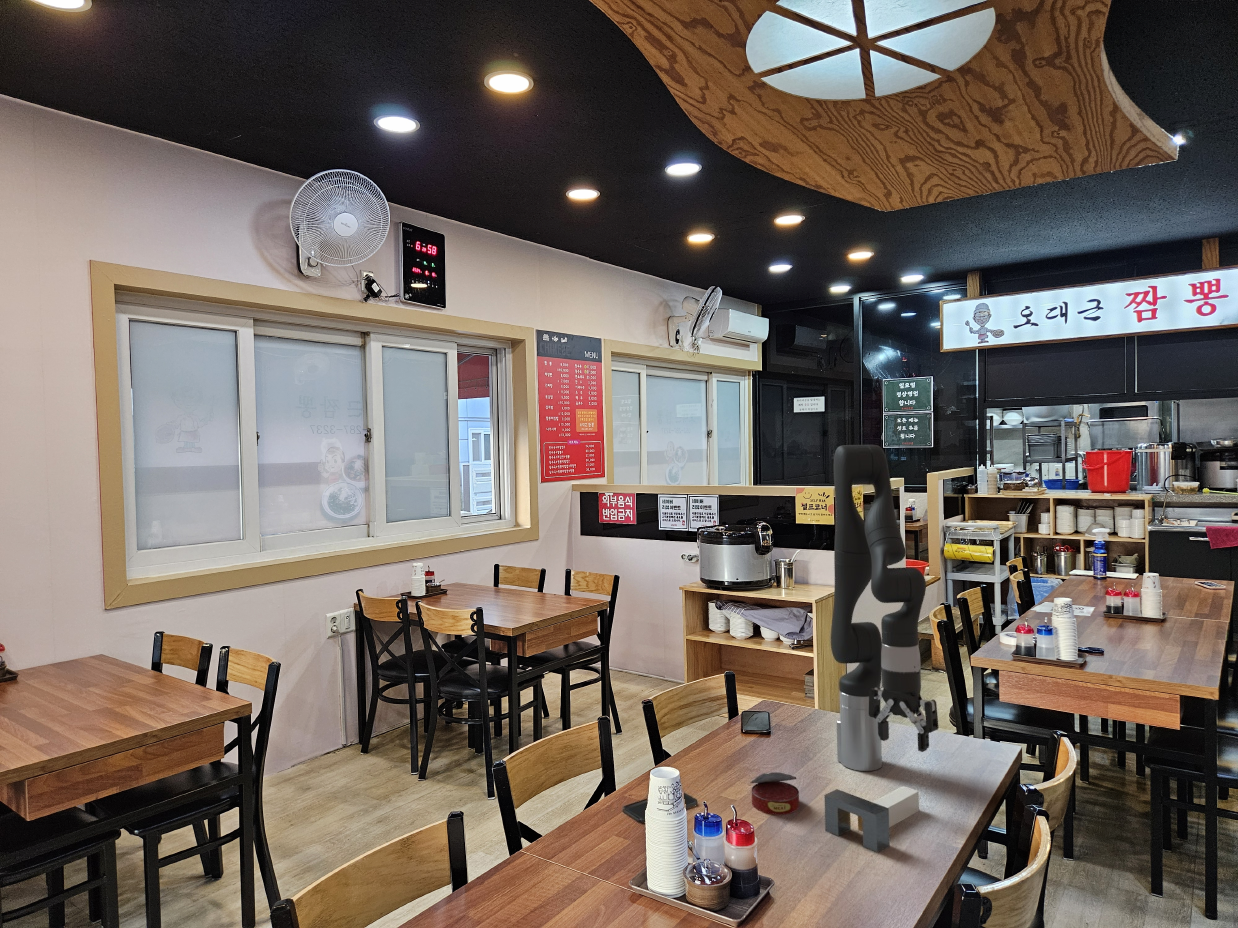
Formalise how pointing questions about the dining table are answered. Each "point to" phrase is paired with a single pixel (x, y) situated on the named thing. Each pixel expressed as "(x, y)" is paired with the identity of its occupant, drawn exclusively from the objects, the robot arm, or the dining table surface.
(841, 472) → the robot arm
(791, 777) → the canned food
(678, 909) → the dining table surface
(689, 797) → the phone
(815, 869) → the dining table surface
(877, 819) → the u-shaped slotted block
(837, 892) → the dining table surface
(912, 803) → the bar
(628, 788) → the dining table surface
